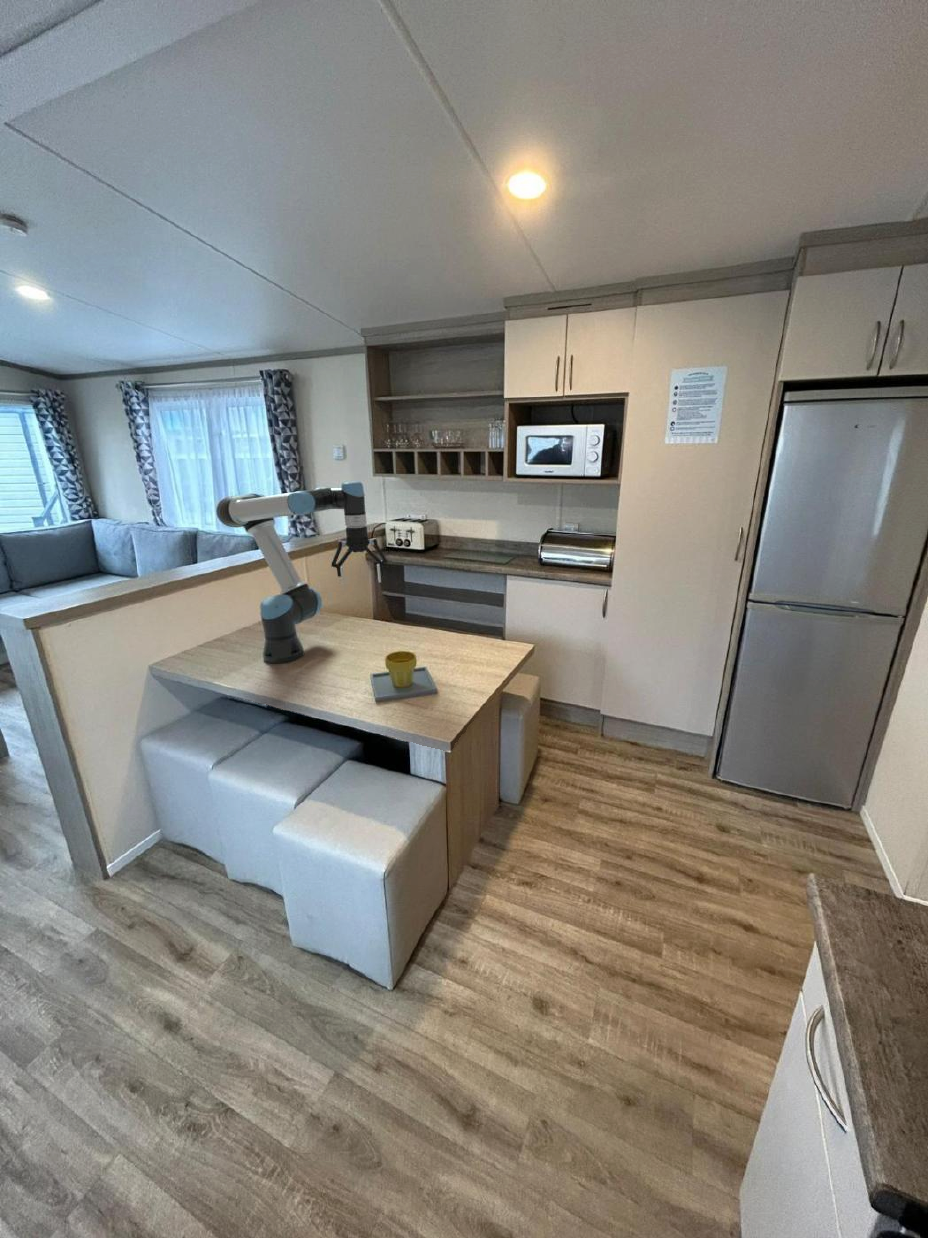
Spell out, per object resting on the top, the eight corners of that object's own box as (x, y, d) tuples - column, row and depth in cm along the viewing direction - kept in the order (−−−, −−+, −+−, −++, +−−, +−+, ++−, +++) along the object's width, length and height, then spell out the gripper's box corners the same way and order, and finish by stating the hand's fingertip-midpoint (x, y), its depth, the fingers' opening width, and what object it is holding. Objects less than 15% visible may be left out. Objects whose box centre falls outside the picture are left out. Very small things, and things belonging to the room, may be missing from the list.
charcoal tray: (375, 702, 153) (375, 697, 153) (370, 678, 170) (370, 673, 169) (437, 693, 158) (436, 688, 158) (426, 671, 175) (426, 666, 174)
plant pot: (422, 678, 167) (421, 652, 163) (409, 692, 157) (408, 664, 154) (395, 674, 170) (393, 649, 167) (381, 687, 161) (379, 660, 158)
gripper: (320, 529, 168) (327, 588, 175) (392, 525, 174) (396, 582, 181) (320, 526, 175) (327, 583, 182) (389, 522, 181) (393, 578, 188)
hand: (361, 583), depth 181 cm, fingers open, 13 cm apart
